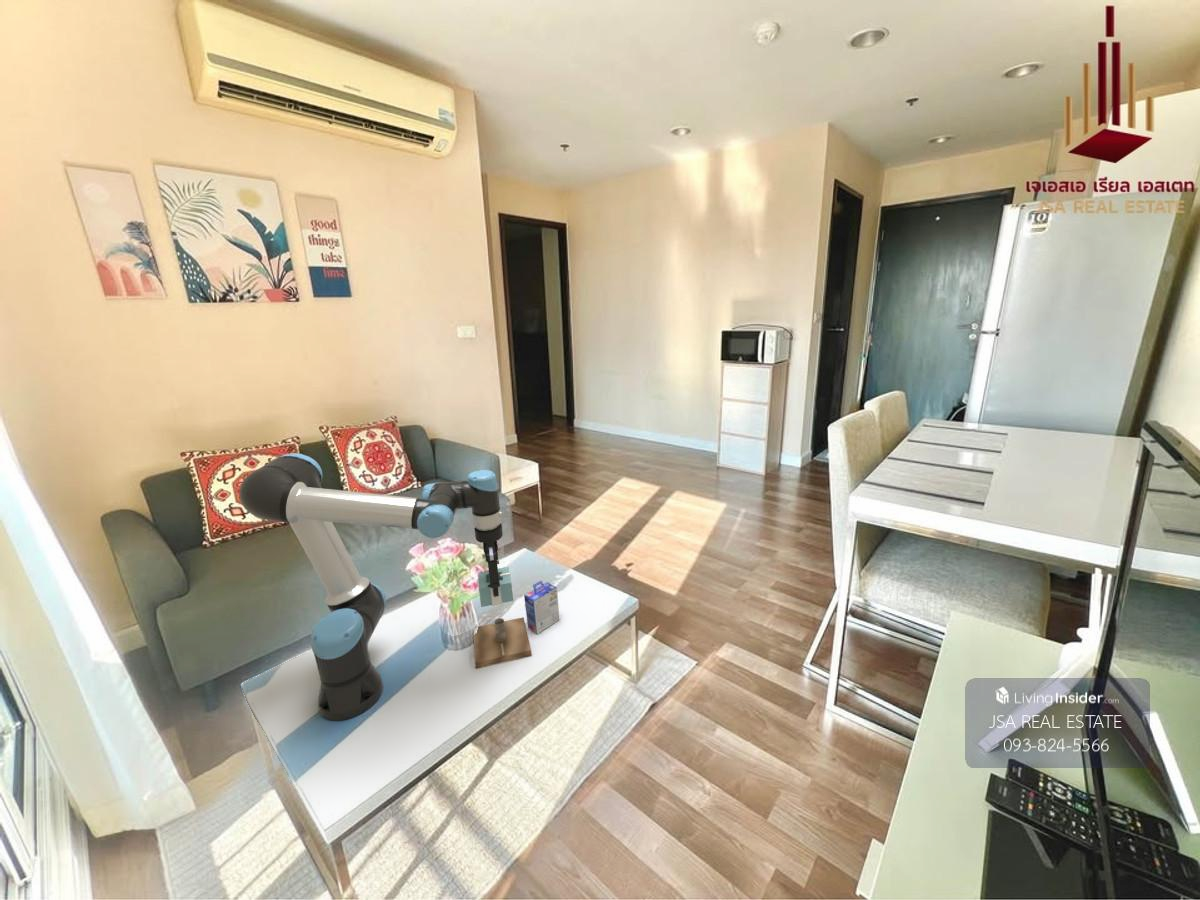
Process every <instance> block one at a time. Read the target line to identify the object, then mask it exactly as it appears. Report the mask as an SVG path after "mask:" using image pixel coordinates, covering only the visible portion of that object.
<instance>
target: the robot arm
mask: <svg viewBox="0 0 1200 900" xmlns="http://www.w3.org/2000/svg"><path fill="white" fill-rule="evenodd" d="M322 480H323V470H322V468H321V465H320V464H319V463H318V462H317V461H316V460H315V459H313V458H312V457H311V456H308V455H305V454H302V453H298V452H297V453H295V452H293V453H287V454H286V453H285V454H283V455H280V456H278V457H275V458H274V459H272V460H271V461H269V462H267V463H266V464H264V465H262V466H261V467H260V468H258V469H256V470H253V471H251V473H249V474H248V475H247V476H245V478H243V481H242V482H241V484H240V486H239V490H238V497H239V501H240V503H241V505H242V507H243V508H244V510H246V511H247V512H248V513H249V514H250V515H252V516H254V517H256V518H259V519H261V520H265V521H270V522H276V523H277V522H278V523H287V524H289V525H290V527H291V529H292V531H293V533H294V534H295V536H296V537H297V540H298V541H299V543H300V545H301V547H302V549H303V551H304V552H305V554H306V556H307V558H308V559H309V561H310V563H311V565H312V567H313V568H314V570H315V572H316V574H317V575H318V577H319V579H320V581H321V582H322V584H323V586H324V589H325V590H326V592H327V593H328V594H327V597H326V599H325V604H326V605H327V607H328V609H329V611H330V612H329V613H327V616H323V617H321V618H320V619H319V620H318V621H317V622H316V623H315V624H314V626H313V628H312V630H311V633H310V640H311V641H310V642H311V643H310V645H311V650H312V652H313V655H314V658H315V663H316V666H317V669H318V674H319V678H320V689H319V693H318V694H319V695H318V701H317V705H318V710H319V714H320V715H321V716H322V717H323V718H325V719H327V720H330V721H343V720H344V721H345V720H348V719H351V718H354V717H356V716H358V715H360V714H361V715H362V713H365V712H366V711H367V710H369V709H370V708H371V707H372V706H374V705H375V704H376V703H377V701H379V698H380V697H381V696H382V693H383V690H384V683H383V679H382V676H381V674H380V673H379V671H378V670H377V669H376V667H375V666H374V665H373V664H372V662H371V656H370V651H369V642H370V640H371V638H372V635H373V634H374V632H375V630H376V628H377V626H378V624H379V622H380V620H381V618H382V616H383V615H384V612H385V609H386V606H387V605H386V604H387V598H386V594H385V592H384V590H383V589H382V587H381V586H379V585H378V584H374V582H371V581H370V579H369V578H368V577H365V576H361V575H360V572H359V571H358V569H357V567H356V566H355V564H354V561H353V560H352V558H351V555H350V554H349V552H348V550H347V548H346V546H345V544H344V542H343V541H342V538H341V537H340V535H339V533H338V531H337V529H336V527H335V525H334V523H341V524H350V525H351V524H352V525H362V526H365V525H366V526H376V527H387V528H398V529H399V528H400V529H401V528H402V529H412V530H418V531H419V533H421V534H422V535H423V536H424V537H427V538H429V539H436V538H440V537H442V536H444V535H446V534H447V532H448V531H449V530H450V528H451V527H452V525H453V522H454V520H455V514H456V511H457V510H463V509H471V512H472V513H471V514H472V523H473V527H474V534H475V535H474V538H475V540H476V541H477V542H478V543H481V544H482V548H483V553H484V557H485V562H486V563H487V568H488V570H489V578H490V585H488V587H490V590H491V598H492V605H491V606H492V607H493V606H498V605H502V604H503V603H502V599H501V590H500V582H499V576H498V565H499V564H500V560H499V554H498V551H499V548H498V547H499V546H498V545H499V544H498V541H499V540H500V539H501V538H503V533H504V532H503V525H502V518H501V517H502V516H503V514H504V512H503V511H501V508H500V507H501V506H500V496H499V485H498V482H497V476H496V474H495V472H494V471H492V470H491V469H490V470H489V469H480V470H475V471H472V472H470V473H469V474H468V476H467V479H466V480H458V481H446V482H444V481H443V482H439V481H438V482H433V483H428V484H426V485H424V487H423V488H422V493H421V498H418V497H410V496H409V497H408V496H400V495H391V494H379V493H371V492H370V493H369V492H363V491H362V492H360V491H350V490H340V489H331V488H323V487H322V485H321V484H322Z"/></svg>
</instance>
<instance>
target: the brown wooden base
mask: <svg viewBox="0 0 1200 900" xmlns="http://www.w3.org/2000/svg"><path fill="white" fill-rule="evenodd" d="M477 627H478V630H477V633H476V634H475V635H474V636H473V651H474V663H475V669H480V668H483V667H488V666H493V665H496V664H501V663H506V662H509V661H514V660H519V659H522V658H523V659H524V658H527V657H531V656H532V655H533V654H532V648H531V644H530V640H529V635H528V634H529V633H528V631H527V626H526V622H525V618H524V617H523V616H522V617H518V618H513V619H509V620H504V618H497V619H494V623H490V624H484V625H480V626H477Z"/></svg>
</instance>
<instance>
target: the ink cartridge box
mask: <svg viewBox="0 0 1200 900" xmlns="http://www.w3.org/2000/svg"><path fill="white" fill-rule="evenodd" d="M532 586H533V589H532V590H531V591H529V592H528V593H526V594H524V596H523V598H524V604H525V605H524V606H525V614H526V622H527V623H526V624H527V629H529V630H530V631H532V632H533V633H535V634H536V635H537V634H539V633H541V632H543V631H544V630H545V629H548V628H549V627H550V626H552V625H554V624H555V623H556V622H559V621H560V611H559V609H560V608H559V607H560V606H559V598H558V597H559V596H558V587H557V586H555V585H553V584H551V583H550V582H547V581H546V582H545V583H544V582H543V581H542V580H540V581H538V582H536V583H534V584H532Z"/></svg>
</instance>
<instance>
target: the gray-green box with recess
mask: <svg viewBox="0 0 1200 900" xmlns="http://www.w3.org/2000/svg"><path fill="white" fill-rule="evenodd" d="M483 571H484V572H482V571H479V572H480V573H479V574H478V573H477V582H478V593H479V601H480V607H481V608H483V607H484V608H485V607H489V606H492V598H491V590H490V587H488V585H490V578H489V569H488V570H483ZM498 576H499V582H500V590H501V599H502V604H505V603H509V602H513V601H514V594H513V586H512V579H511V572H510V568H509V566H504V567H499V568H498Z"/></svg>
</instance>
